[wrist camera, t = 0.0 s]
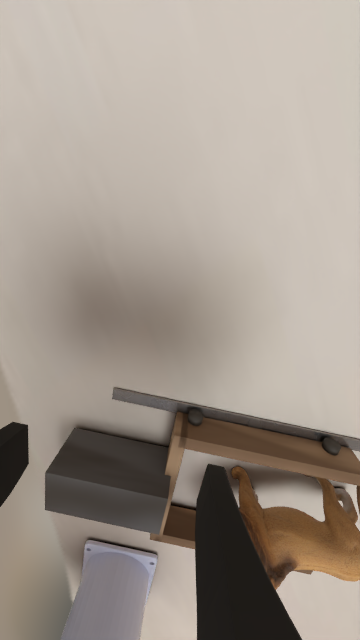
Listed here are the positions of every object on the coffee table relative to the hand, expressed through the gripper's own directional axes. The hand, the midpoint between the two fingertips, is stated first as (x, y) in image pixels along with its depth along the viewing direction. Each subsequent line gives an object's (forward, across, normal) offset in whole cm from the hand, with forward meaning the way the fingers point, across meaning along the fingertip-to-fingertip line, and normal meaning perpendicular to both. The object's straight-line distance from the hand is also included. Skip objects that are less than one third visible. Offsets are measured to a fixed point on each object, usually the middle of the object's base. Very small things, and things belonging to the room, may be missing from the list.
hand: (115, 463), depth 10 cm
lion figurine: (+10, -13, +11) cm, 20 cm away
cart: (+10, -5, +11) cm, 16 cm away
